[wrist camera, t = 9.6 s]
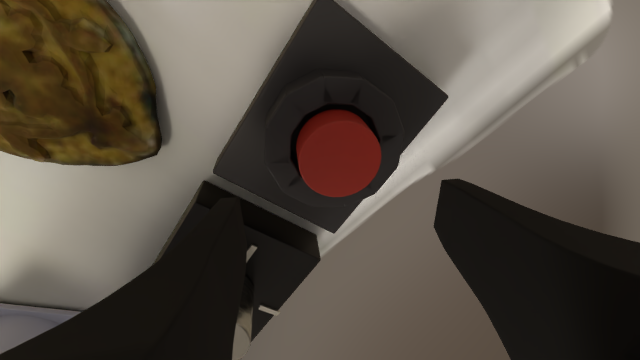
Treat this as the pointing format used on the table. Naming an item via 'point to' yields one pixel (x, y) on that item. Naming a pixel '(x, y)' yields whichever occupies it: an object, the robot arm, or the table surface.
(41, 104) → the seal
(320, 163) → the power button
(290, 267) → the dial plate
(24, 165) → the table surface
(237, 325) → the dial
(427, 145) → the table surface
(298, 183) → the power block
